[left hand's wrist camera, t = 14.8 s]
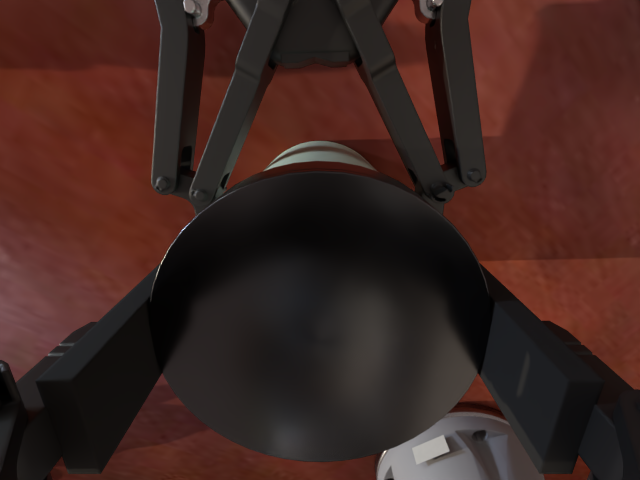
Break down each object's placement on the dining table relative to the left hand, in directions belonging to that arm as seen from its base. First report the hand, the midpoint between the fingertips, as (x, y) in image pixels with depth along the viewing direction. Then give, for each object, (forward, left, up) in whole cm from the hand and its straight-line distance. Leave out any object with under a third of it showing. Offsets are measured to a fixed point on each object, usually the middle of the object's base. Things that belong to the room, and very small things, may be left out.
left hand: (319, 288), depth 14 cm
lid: (0, 0, +3) cm, 3 cm away
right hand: (-4, +3, -6) cm, 8 cm away
